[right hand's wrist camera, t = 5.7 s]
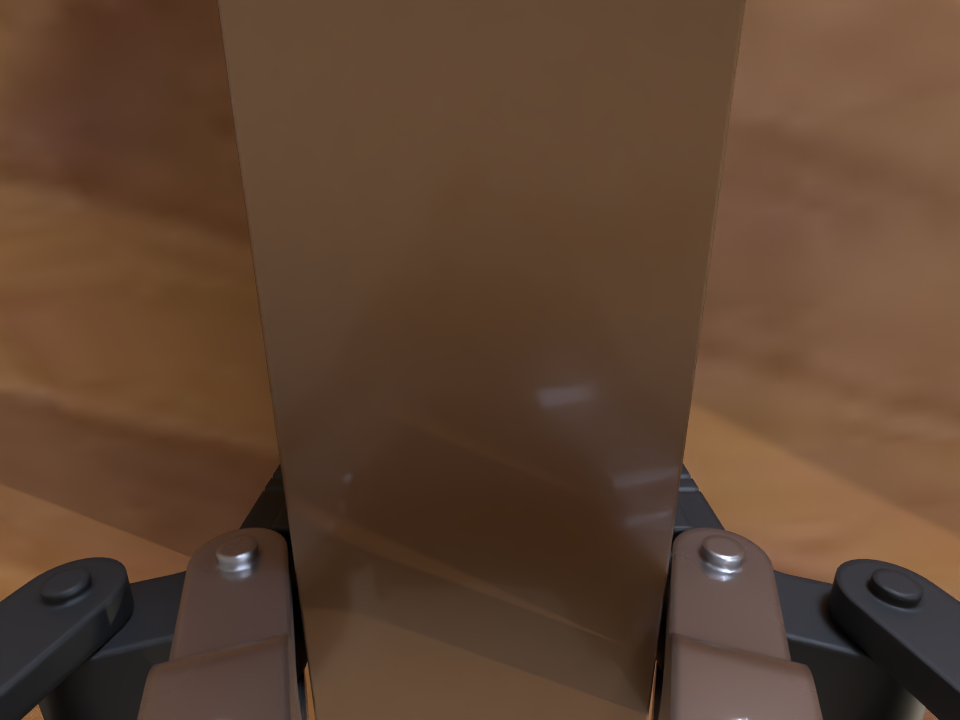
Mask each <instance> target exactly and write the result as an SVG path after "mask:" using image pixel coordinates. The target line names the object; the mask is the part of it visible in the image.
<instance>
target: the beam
mask: <svg viewBox="0 0 960 720" xmlns="http://www.w3.org/2000/svg"><path fill="white" fill-rule="evenodd" d="M217 2H218V9H219V17H220V24H221V31H222V39H223V46H224V53H225V61H226V68H227V75H228V82H229V90H230V97H231V104H232V112H233V119H234V126H235V134H236V141H237V148H238V156H239V163H240V170H241V178H242V185H243V192H244V200H245V207H246V214H247V221H248V229H249V236H250V243H251V251H252V258H253V265H254V273H255V280H256V287H257V295H258V302H259V309H260V317H261V324H262V331H263V339H264V346H265V353H266V360H267V368H268V375H269V382H270V390H271V397H272V404H273V412H274V419H275V426H276V434H277V441H278V448H279V456H280V463H281V470H282V478H283V485H284V492H285V499H286V507H287V514H288V521H289V529H290V536H291V543H292V551H293V558H294V565H295V573H296V580H297V587H298V595H299V602H300V609H301V617H302V624H303V631H304V638H305V646H306V653H307V660H308V668H309V675H310V682H311V690H312V697H313V704H314V712H315V719H316V720H648V714H649V706H650V699H651V692H652V684H653V677H654V669H655V662H656V655H657V647H658V640H659V633H660V625H661V618H662V611H663V603H664V596H665V589H666V581H667V574H668V566H669V559H670V552H671V544H672V537H673V530H674V522H675V515H676V508H677V500H678V493H679V485H680V478H681V471H682V463H683V456H684V449H685V441H686V434H687V427H688V419H689V412H690V404H691V397H692V390H693V382H694V375H695V368H696V360H697V353H698V346H699V338H700V331H701V323H702V316H703V309H704V301H705V294H706V287H707V279H708V272H709V265H710V257H711V250H712V243H713V235H714V228H715V220H716V213H717V206H718V198H719V191H720V184H721V176H722V169H723V162H724V154H725V147H726V139H727V132H728V125H729V117H730V110H731V103H732V95H733V88H734V81H735V73H736V66H737V58H738V51H739V44H740V36H741V29H742V22H743V14H744V7H745V0H217Z"/></svg>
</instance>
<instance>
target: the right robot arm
mask: <svg viewBox="0 0 960 720" xmlns="http://www.w3.org/2000/svg"><path fill="white" fill-rule="evenodd" d="M690 476H691V475H690V474H689V472H688V471H687V469H686V468H685V466H684V464H683V463H682V471H681V478H680V485H679V493H678V500H677V508H676V515H675V522H674V530H673V537H672V544H671V552H670V559H669V566H668V574H667V581H666V589H665V596H664V603H663V611H662V618H661V625H660V633H659V640H658V647H657V655H656V660H657V663H656V670H655V678H654V687H653V702H652V717H651V720H922V719H923V716H924V714H925V711H926V708H927V709H928V710H929V711H930V712H931V713H932V714H934V715H935V716H936V717H937V718H938V719H939V720H960V602H959V601H958V600H956V599H955V598H953V597H952V596H950V595H949V594H948V593H946V592H945V591H943V590H942V589H941V588H939V587H938V586H936V585H935V584H933V583H932V582H930V581H929V580H927V579H926V578H924V577H922V576H920V575H918V574H917V573H915V572H912V571H910V570H908V569H906V568H903V567H900V566H897V565H894V564H891V563H887V562H883V561H878V560H870V559H856V560H850V561H847V562H845V563H843V564H841V565H840V566H839V567H838V569H837V571H836V574H835V578H834V582H833V584H830V583H825V582H820V581H816V580H811V579H806V578H801V577H797V576H792V575H788V574H785V573H781V572H778V571H775V570H773V566H772V563H771V560H770V559H769V557H768V556H767V554H766V553H765V552H764V551H763V550H762V549H761V548H760V547H759V546H757V545H756V544H755V543H753V542H752V541H750V540H748V539H746V538H744V537H742V536H740V535H738V534H735V533H732V532H729V531H726V530H725V529H724V528H723V526H722V524H721V523H720V521H719V520H718V518H717V516H716V515H715V513H714V512H713V510H712V509H711V507H710V505H709V504H708V502H707V501H706V499H705V498H704V496H703V494H702V493H701V492H699V488H698V487H697V485H696V483H695V482H694V480H693V479H691V477H690ZM307 661H308V660H307V653H306V646H305V638H304V631H303V624H302V617H301V609H300V602H299V595H298V587H297V580H296V573H295V565H294V558H293V551H292V543H291V536H290V529H289V521H288V514H287V507H286V499H285V492H284V485H283V478H282V470H281V463H280V465H279V466H278V468H277V470H276V471H275V473H274V474H273V478H271V479H270V481H269V482H268V484H267V486H266V487H265V491H263V492H262V494H261V495H260V497H259V498H258V500H257V502H256V503H255V505H254V506H253V508H252V510H251V511H250V513H249V514H248V516H247V518H246V519H245V521H244V522H243V524H242V526H241V527H240V529H239V530H234V531H231V532H228V533H225V534H222V535H220V536H218V537H216V538H214V539H212V540H210V541H208V542H207V543H206V544H204V545H203V546H201V547H200V548H199V549H198V550H197V551H196V552H195V553H194V554H193V556H192V557H191V559H190V560H189V563H188V566H187V570H186V571H184V572H180V573H177V574H173V575H168V576H163V577H159V578H154V579H149V580H145V581H140V582H135V583H131V584H130V583H129V580H128V576H127V572H126V569H125V567H124V565H123V564H122V563H120V562H119V561H117V560H114V559H111V558H103V557H95V558H86V559H81V560H76V561H72V562H69V563H66V564H63V565H60V566H57V567H55V568H53V569H51V570H48V571H46V572H44V573H43V574H41V575H39V576H37V577H36V578H34V579H32V580H31V581H29V582H28V583H27V584H25V585H24V586H22V587H21V588H19V589H18V590H17V591H15V592H14V593H12V594H11V595H10V596H8V597H7V598H5V599H4V600H2V601H1V602H0V720H21V719H22V718H23V717H24V716H25V715H26V714H28V713H29V712H30V711H31V710H32V709H33V708H34V707H35V706H36V705H37V704H39V707H40V710H41V712H42V715H43V718H44V720H309V716H308V701H307V687H306V677H305V670H304V669H305V667H306V664H307Z"/></svg>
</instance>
